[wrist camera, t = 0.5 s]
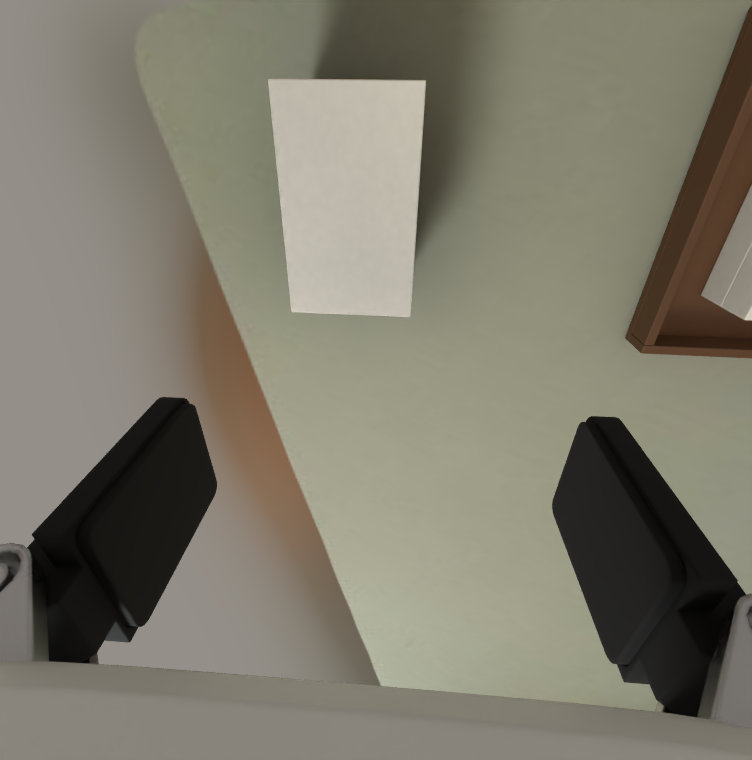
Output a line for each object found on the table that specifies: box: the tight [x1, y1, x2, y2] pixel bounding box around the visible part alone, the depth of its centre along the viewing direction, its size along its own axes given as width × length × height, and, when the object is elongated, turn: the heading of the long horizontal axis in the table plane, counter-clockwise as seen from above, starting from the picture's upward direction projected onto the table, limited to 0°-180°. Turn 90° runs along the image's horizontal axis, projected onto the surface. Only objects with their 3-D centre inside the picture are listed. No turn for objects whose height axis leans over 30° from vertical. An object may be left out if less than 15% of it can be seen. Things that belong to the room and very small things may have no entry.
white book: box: [268, 78, 426, 317], centre depth 20 cm, size 10×7×2 cm, turn 179°
